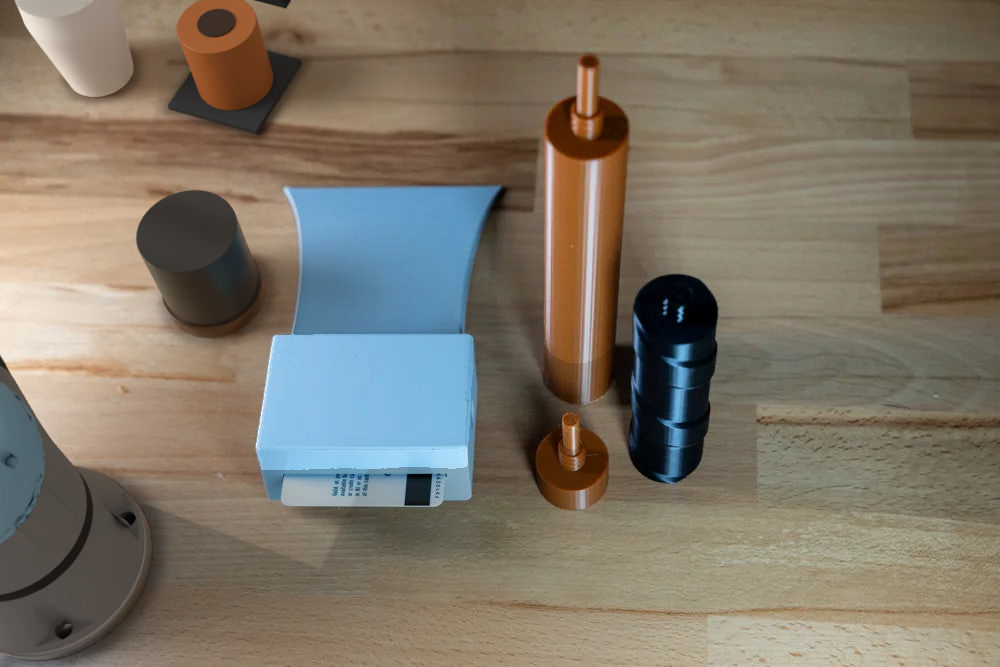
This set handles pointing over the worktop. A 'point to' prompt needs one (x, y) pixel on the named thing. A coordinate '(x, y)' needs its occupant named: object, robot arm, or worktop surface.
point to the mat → (242, 119)
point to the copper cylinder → (225, 53)
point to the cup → (82, 42)
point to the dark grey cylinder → (201, 263)
